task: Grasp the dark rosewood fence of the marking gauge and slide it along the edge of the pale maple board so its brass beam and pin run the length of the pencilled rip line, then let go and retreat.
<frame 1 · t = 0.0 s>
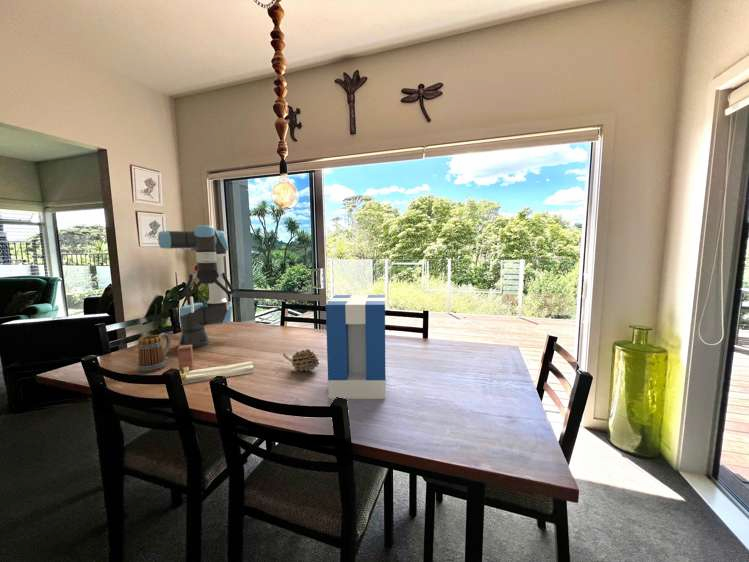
hand: (210, 310, 137), 28 cm above the table, fingers open, 13 cm apart
pine cone: (298, 369, 142), on the table
mug: (157, 367, 147), on the table
toy block: (359, 386, 125), on the table
gauge: (184, 363, 133), point 6 cm above the table, slide at 0.0 cm
board: (216, 374, 137), on the table
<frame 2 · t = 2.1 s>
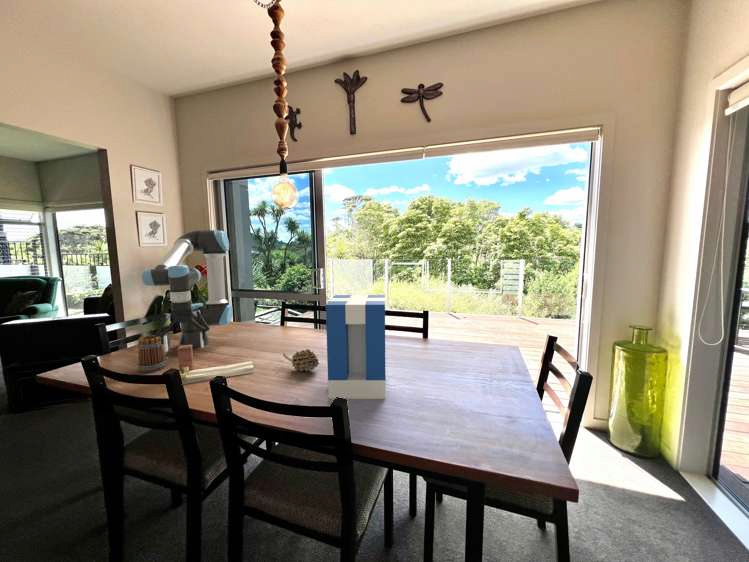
hand: (184, 349, 137), 11 cm above the table, fingers open, 13 cm apart
nothing on the table moved.
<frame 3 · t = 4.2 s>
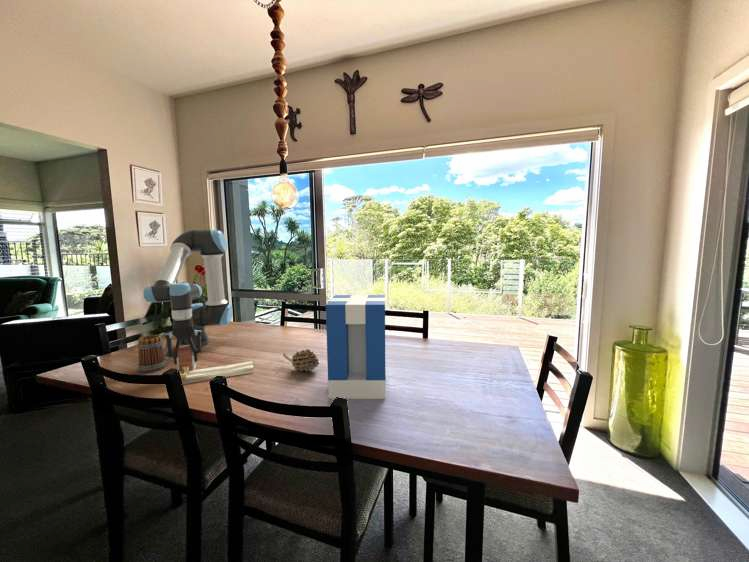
hand: (186, 369, 139), 2 cm above the table, fingers closed on gauge, 5 cm apart
gauge: (184, 363, 133), point 6 cm above the table, slide at 0.0 cm, touching gripper
everything else where it was.
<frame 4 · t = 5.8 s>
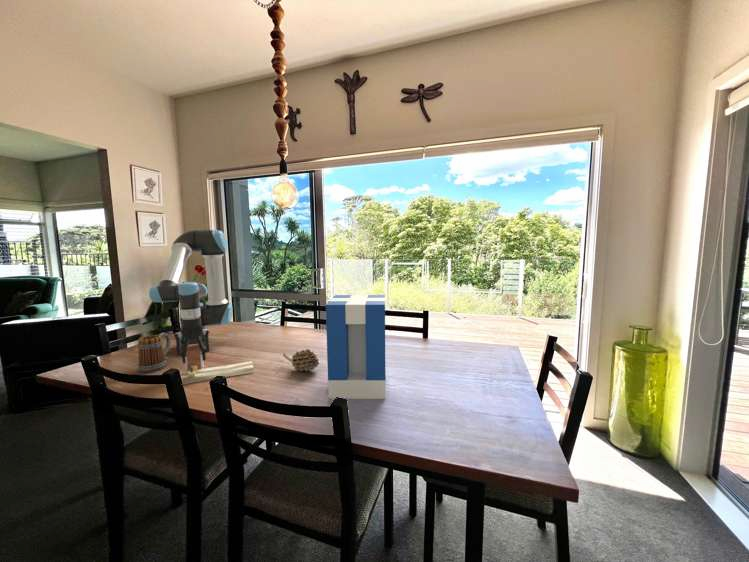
hand: (195, 368, 140), 2 cm above the table, fingers closed on gauge, 5 cm apart
gauge: (193, 362, 135), point 6 cm above the table, slide at 3.2 cm, touching gripper
everything else where it was.
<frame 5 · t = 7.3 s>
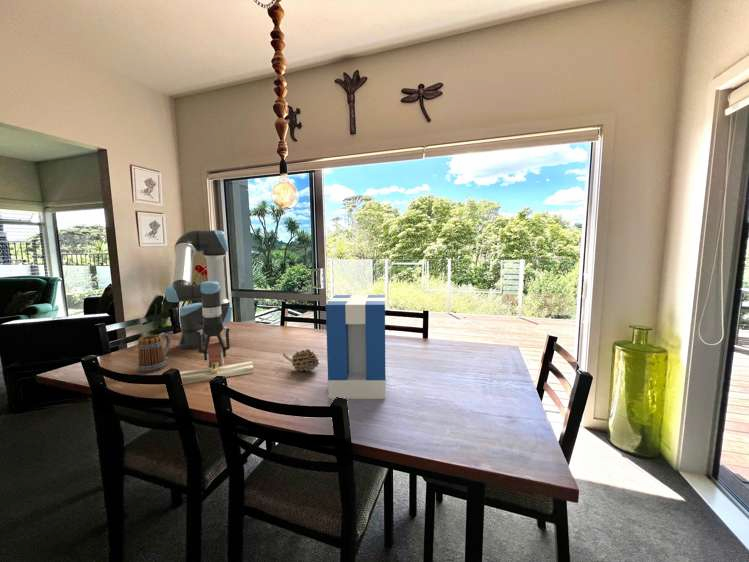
hand: (216, 365, 143), 2 cm above the table, fingers closed on gauge, 5 cm apart
gauge: (214, 359, 138), point 6 cm above the table, slide at 11.6 cm, touching gripper
everything else where it was.
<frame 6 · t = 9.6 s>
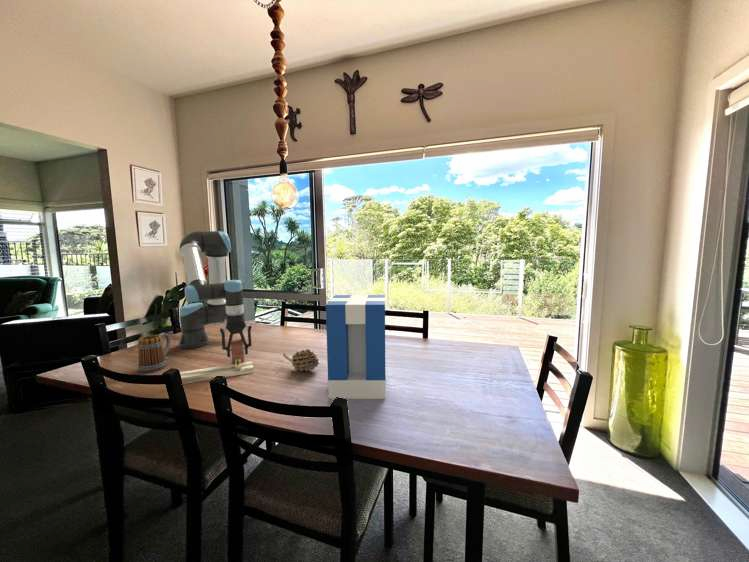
hand: (238, 362, 147), 2 cm above the table, fingers closed on gauge, 5 cm apart
gauge: (237, 356, 142), point 6 cm above the table, slide at 20.9 cm, touching gripper
everything else where it was.
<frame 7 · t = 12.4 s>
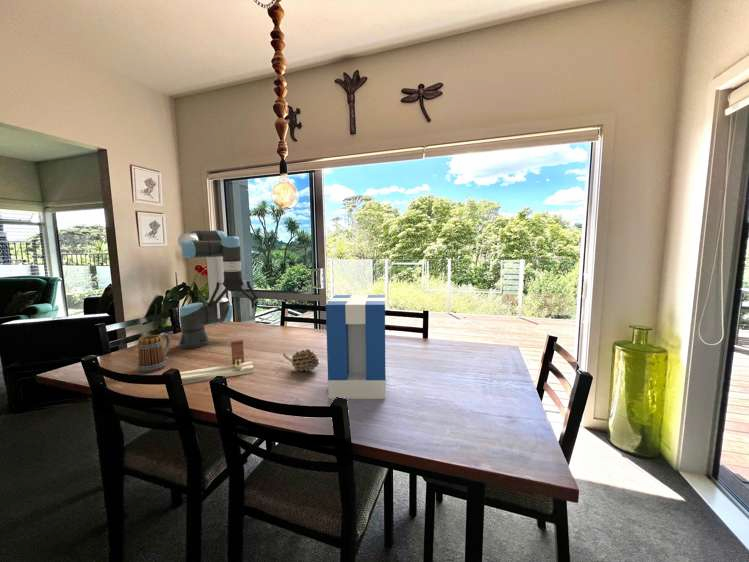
hand: (235, 316, 145), 24 cm above the table, fingers open, 13 cm apart
gauge: (237, 356, 142), point 6 cm above the table, slide at 21.0 cm
everything else where it was.
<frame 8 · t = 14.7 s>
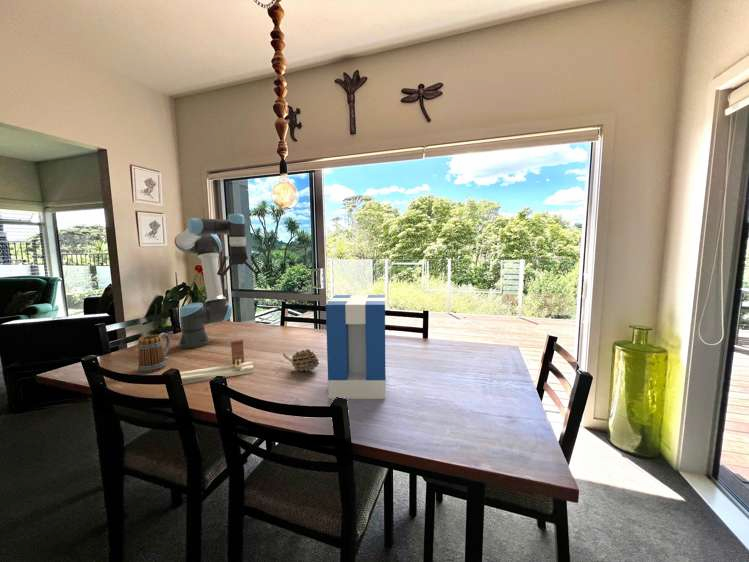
hand: (240, 288, 158), 35 cm above the table, fingers open, 13 cm apart
nothing on the table moved.
at the end: gauge slide at 21.0 cm; the gripper is holding nothing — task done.
